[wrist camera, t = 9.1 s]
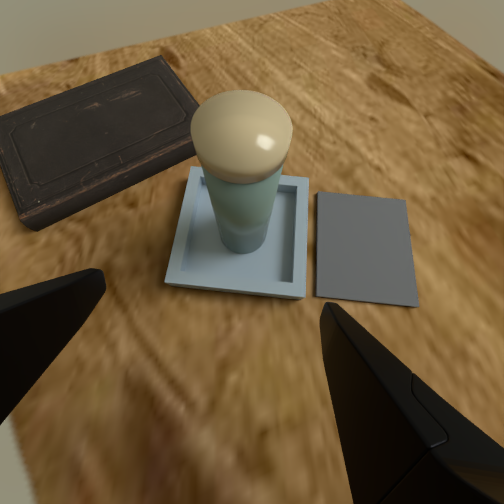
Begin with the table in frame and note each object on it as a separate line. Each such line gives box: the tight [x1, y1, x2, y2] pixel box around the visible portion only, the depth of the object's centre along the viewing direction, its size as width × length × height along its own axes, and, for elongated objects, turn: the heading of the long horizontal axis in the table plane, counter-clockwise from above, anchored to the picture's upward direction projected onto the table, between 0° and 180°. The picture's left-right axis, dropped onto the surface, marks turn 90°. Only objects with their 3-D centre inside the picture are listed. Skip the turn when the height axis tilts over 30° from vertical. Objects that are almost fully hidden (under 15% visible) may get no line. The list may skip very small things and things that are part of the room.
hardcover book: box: [0, 55, 200, 232], centre depth 28 cm, size 16×23×2 cm
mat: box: [316, 191, 419, 307], centre depth 24 cm, size 12×10×1 cm
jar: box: [191, 90, 292, 254], centre depth 18 cm, size 5×5×13 cm
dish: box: [165, 166, 309, 300], centre depth 24 cm, size 13×13×2 cm
